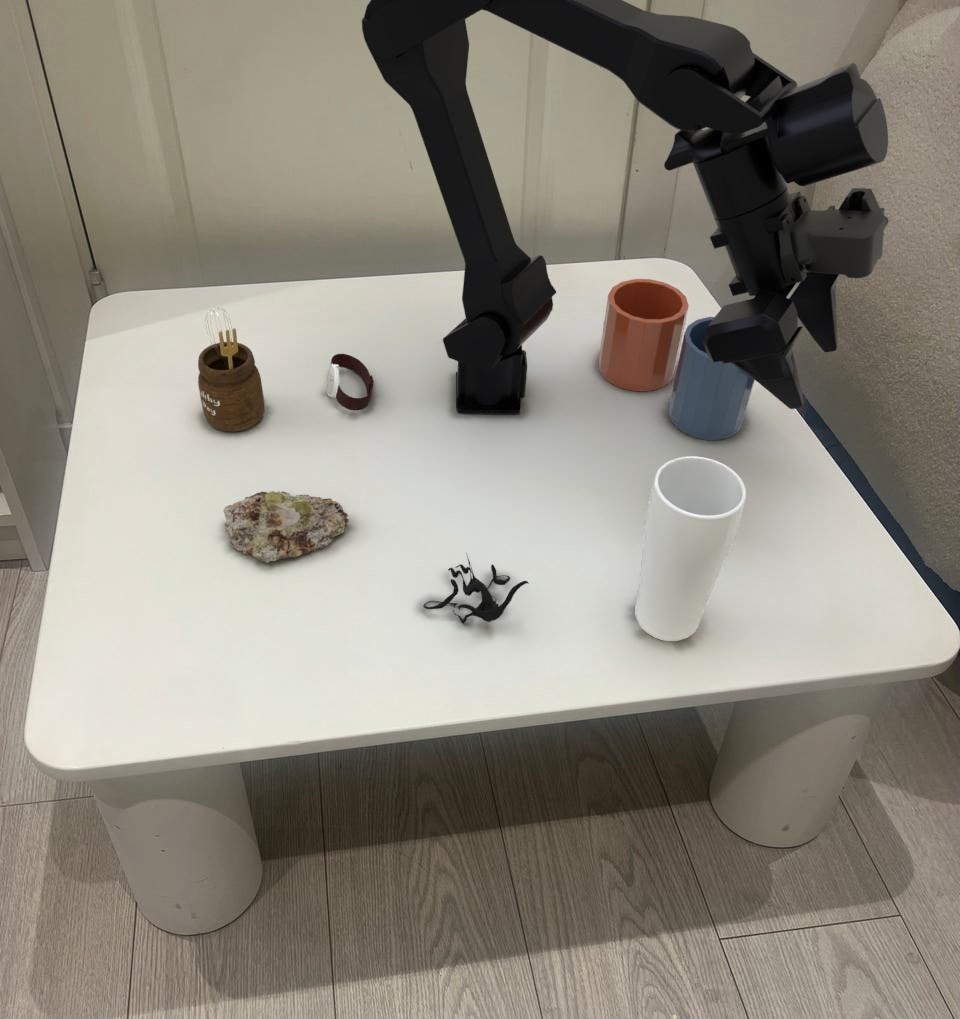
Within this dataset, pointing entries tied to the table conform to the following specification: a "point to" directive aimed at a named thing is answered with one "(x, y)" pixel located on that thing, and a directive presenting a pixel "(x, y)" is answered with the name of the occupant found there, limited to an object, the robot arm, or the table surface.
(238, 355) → the utensil holder
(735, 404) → the blue tumbler
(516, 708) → the table surface
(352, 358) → the watch
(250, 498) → the mineral rock
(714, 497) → the drinking glass
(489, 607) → the creature
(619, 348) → the terracotta cup
